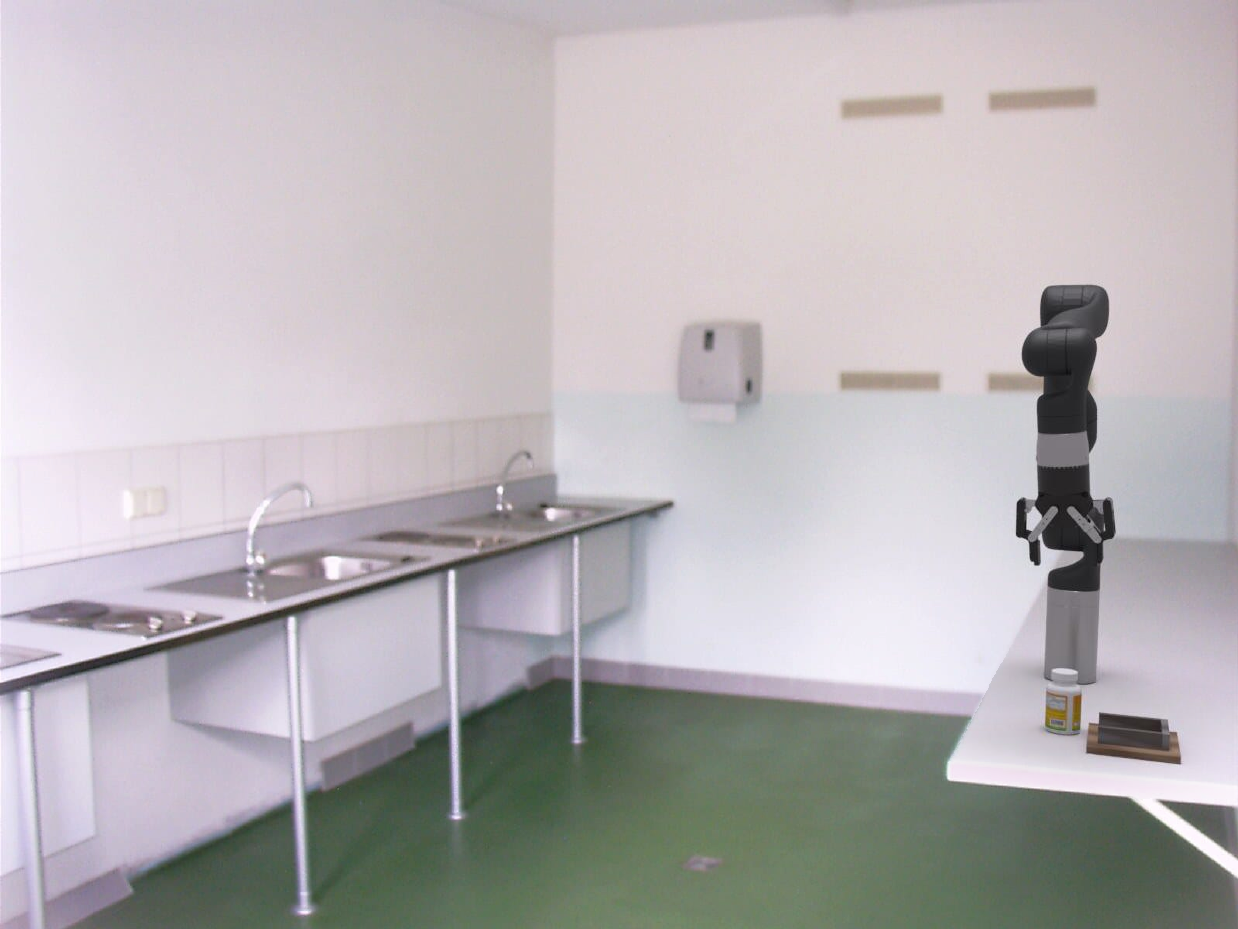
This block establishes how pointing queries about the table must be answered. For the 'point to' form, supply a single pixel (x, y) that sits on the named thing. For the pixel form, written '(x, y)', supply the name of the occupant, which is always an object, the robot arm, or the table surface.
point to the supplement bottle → (1063, 702)
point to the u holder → (1133, 738)
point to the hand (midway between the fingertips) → (1066, 565)
